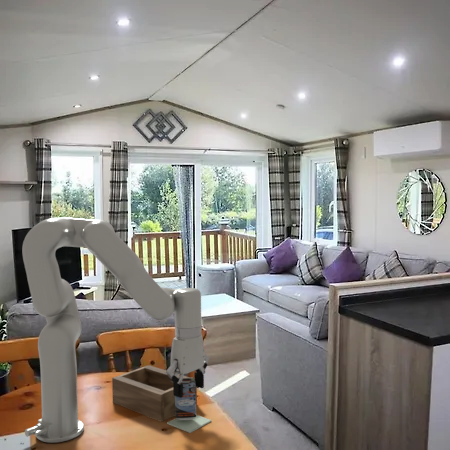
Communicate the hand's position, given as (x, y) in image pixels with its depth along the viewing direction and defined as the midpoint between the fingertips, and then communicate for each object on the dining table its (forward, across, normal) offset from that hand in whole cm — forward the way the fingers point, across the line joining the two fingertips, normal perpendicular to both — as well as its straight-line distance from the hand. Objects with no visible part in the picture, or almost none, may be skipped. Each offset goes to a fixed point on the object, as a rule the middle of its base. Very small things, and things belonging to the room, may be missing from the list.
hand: (188, 391), depth 138 cm
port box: (+9, -3, -18) cm, 20 cm away
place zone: (+9, 0, 0) cm, 9 cm away
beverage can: (+9, +1, 0) cm, 9 cm away
